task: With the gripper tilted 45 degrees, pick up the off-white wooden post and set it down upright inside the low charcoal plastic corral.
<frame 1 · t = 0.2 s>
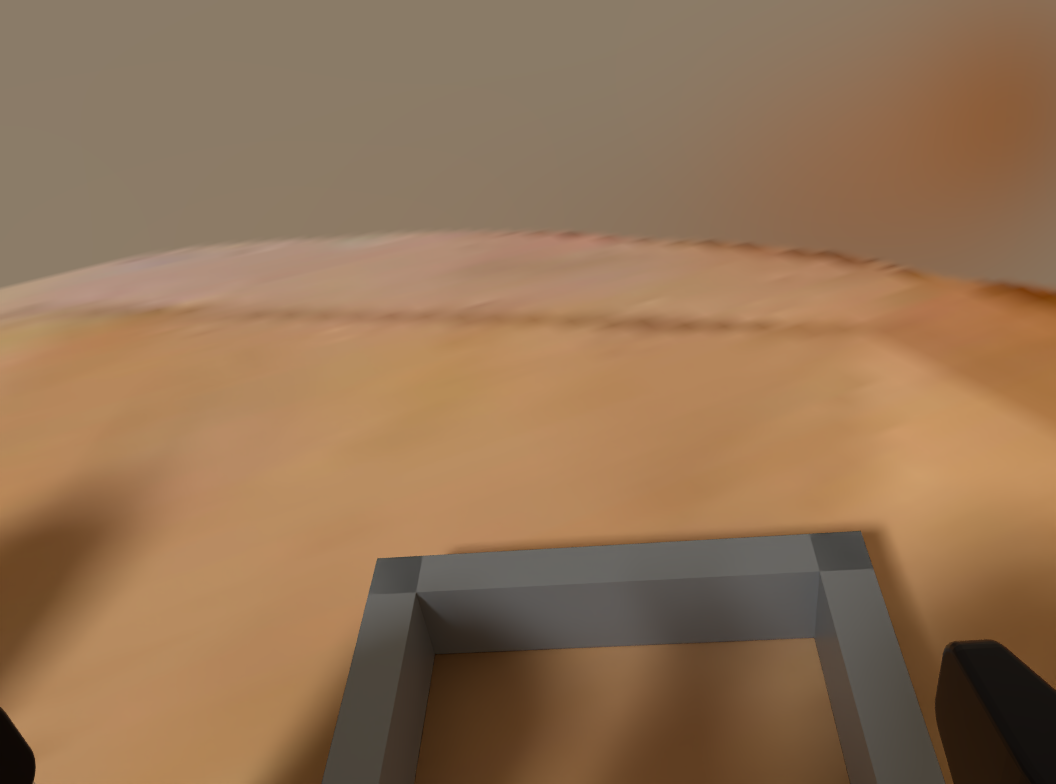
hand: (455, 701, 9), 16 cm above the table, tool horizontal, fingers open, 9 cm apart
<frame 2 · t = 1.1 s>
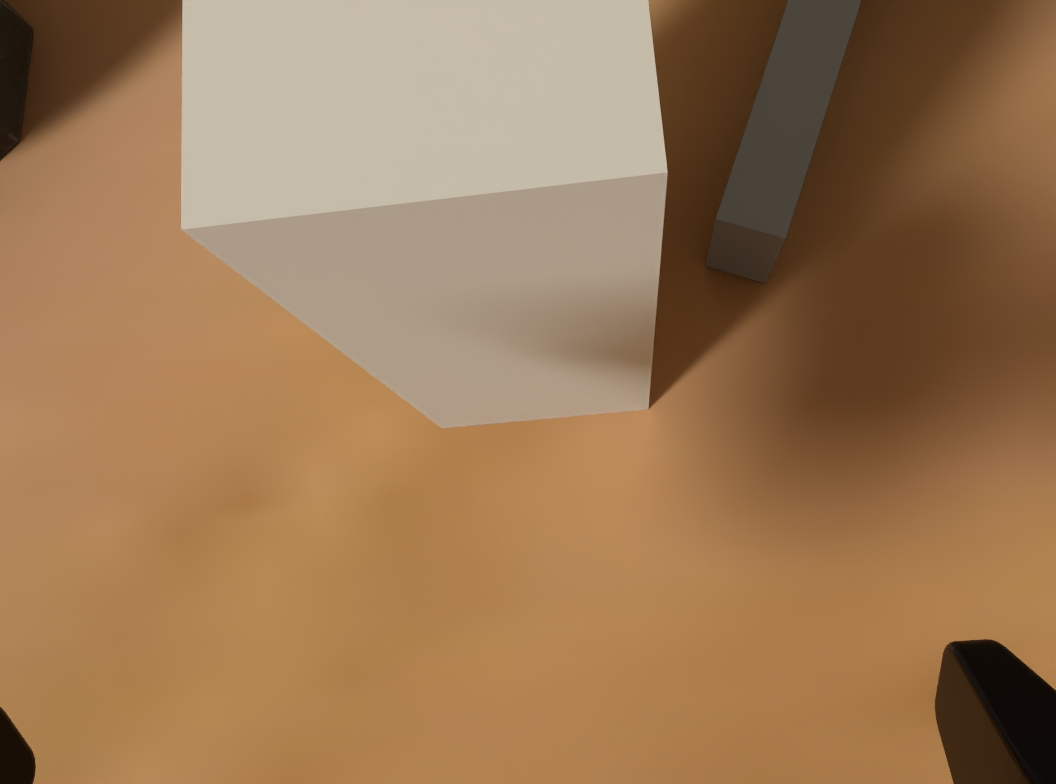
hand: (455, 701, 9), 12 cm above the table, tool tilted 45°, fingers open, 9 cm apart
post: (536, 319, 22), on the table
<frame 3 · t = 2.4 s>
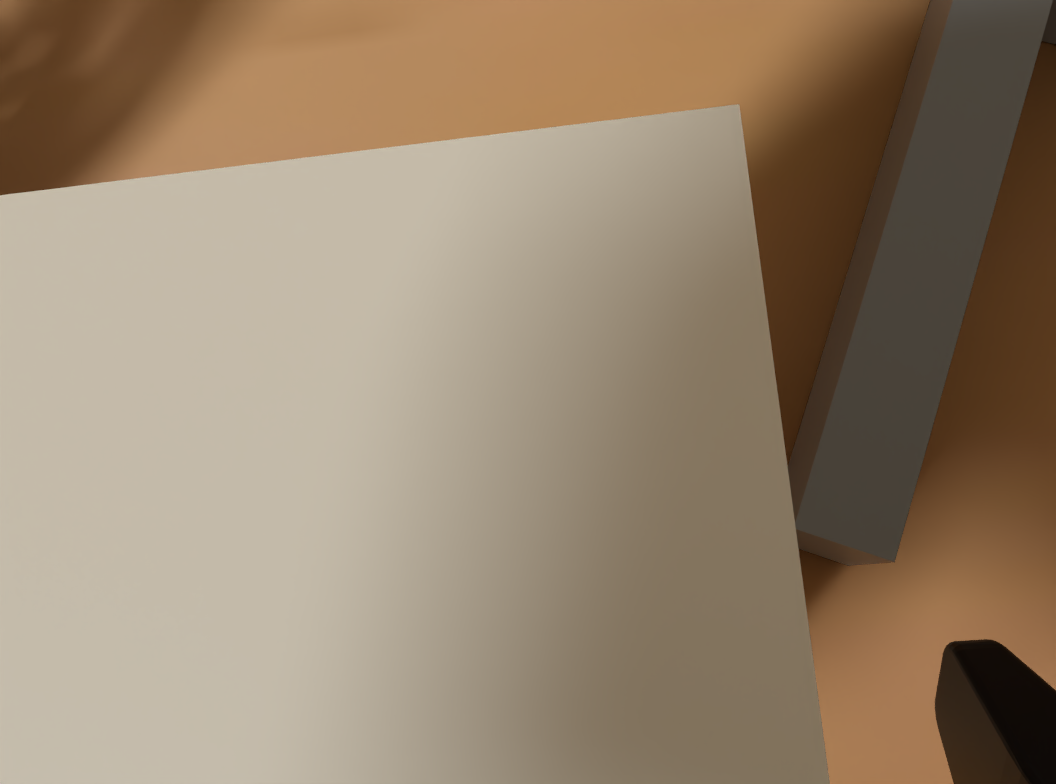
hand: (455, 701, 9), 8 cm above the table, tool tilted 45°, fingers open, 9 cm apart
post: (540, 603, 17), on the table
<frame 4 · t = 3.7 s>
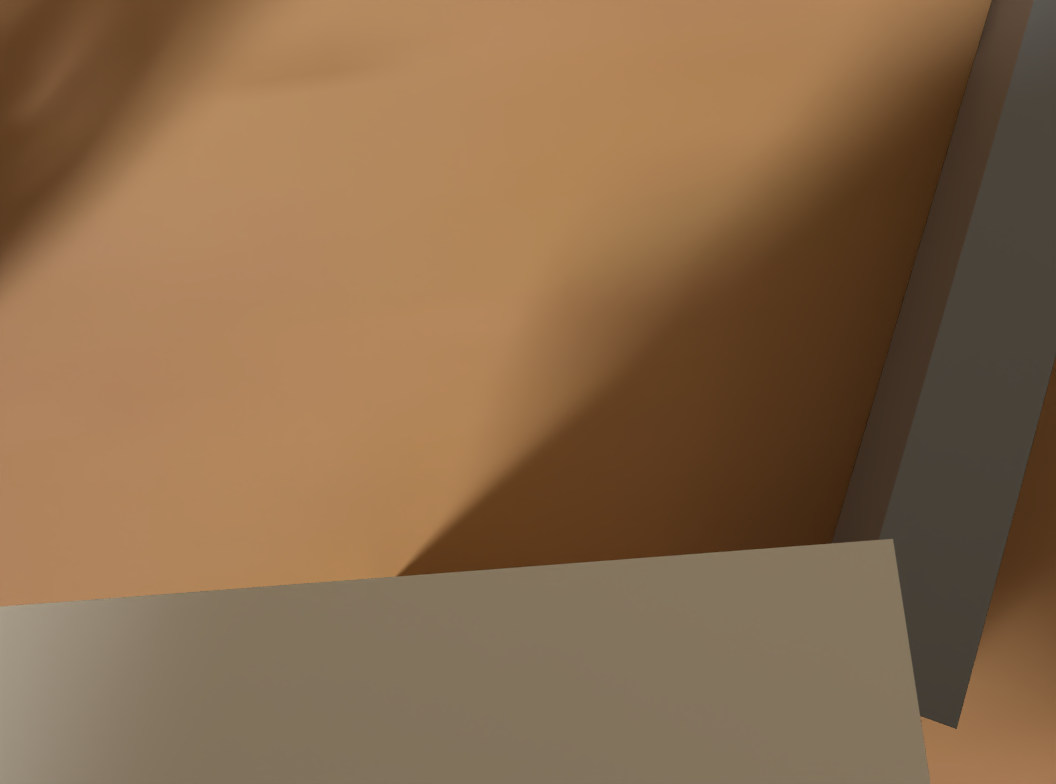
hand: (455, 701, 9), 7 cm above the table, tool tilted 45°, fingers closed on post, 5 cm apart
post: (539, 735, 15), on the table, touching gripper
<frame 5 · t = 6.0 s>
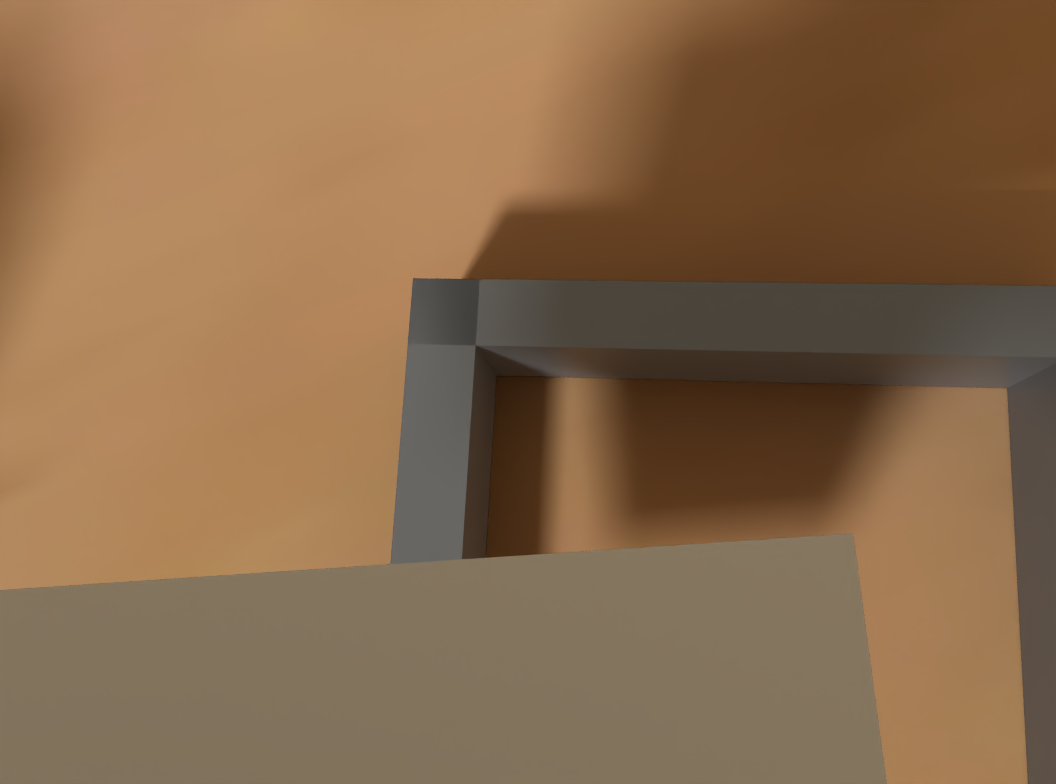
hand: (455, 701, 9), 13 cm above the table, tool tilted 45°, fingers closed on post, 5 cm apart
post: (544, 735, 15), point 6 cm above the table, touching gripper
corral: (741, 616, 21), on the table
when the fingers open (7 cm above the table, at t = 8.3 s): post stays where it is, on the table.
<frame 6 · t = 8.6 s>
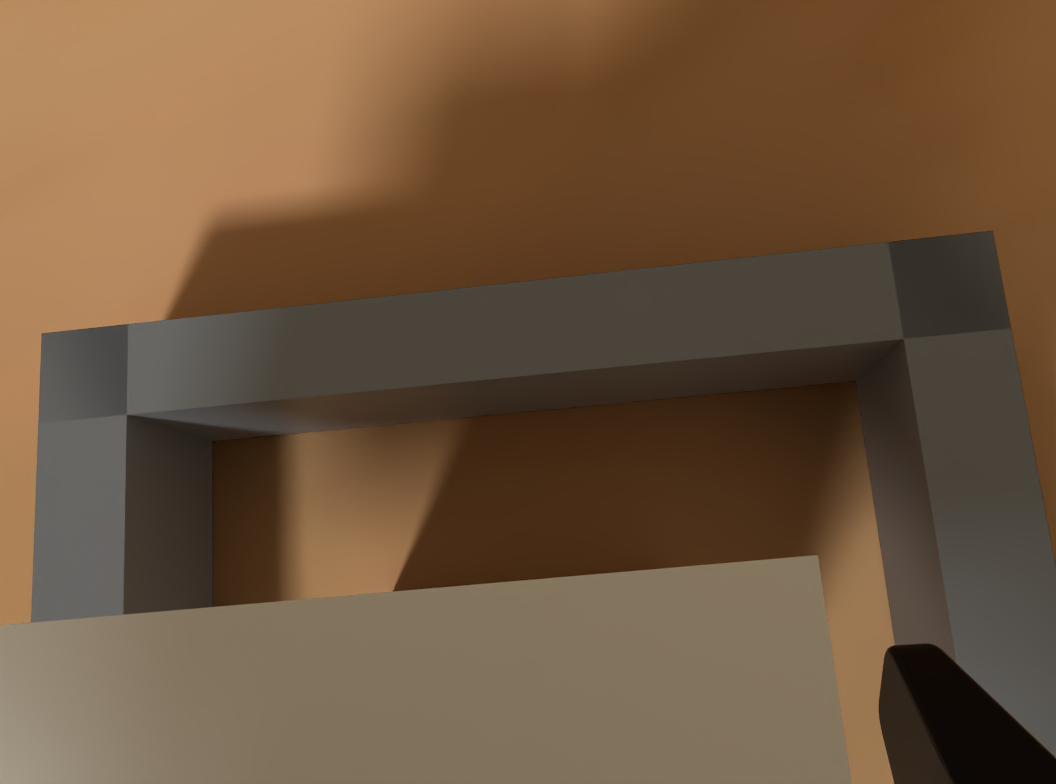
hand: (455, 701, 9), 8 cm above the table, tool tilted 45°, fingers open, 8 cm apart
post: (540, 728, 16), on the table
corral: (545, 724, 16), on the table
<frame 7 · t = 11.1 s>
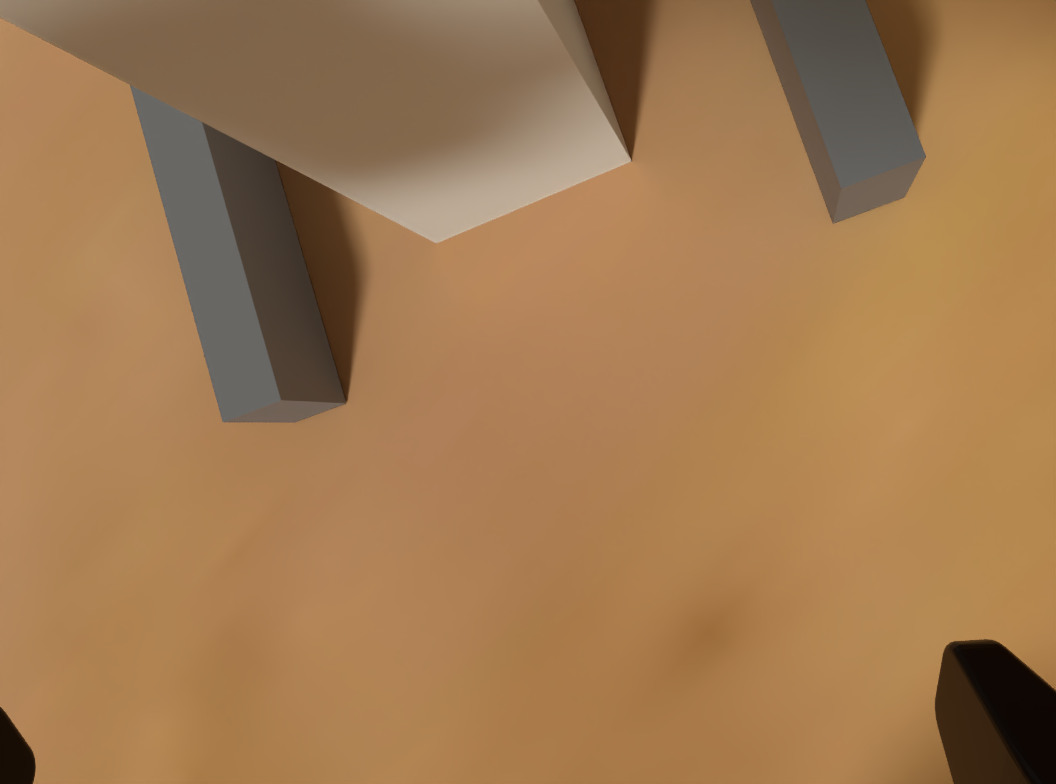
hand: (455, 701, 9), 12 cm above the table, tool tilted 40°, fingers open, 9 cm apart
post: (498, 106, 22), on the table
corral: (500, 102, 21), on the table
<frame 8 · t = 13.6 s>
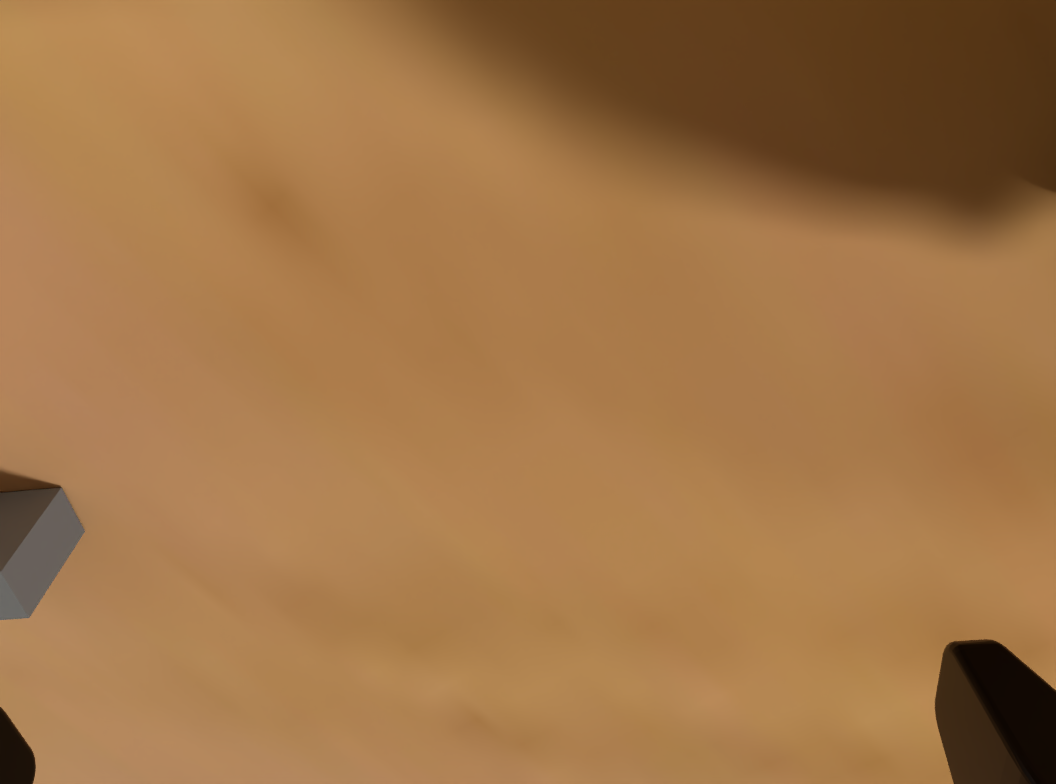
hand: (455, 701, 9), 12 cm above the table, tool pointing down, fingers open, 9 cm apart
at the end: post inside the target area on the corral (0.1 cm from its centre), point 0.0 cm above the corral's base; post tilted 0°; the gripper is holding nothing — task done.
